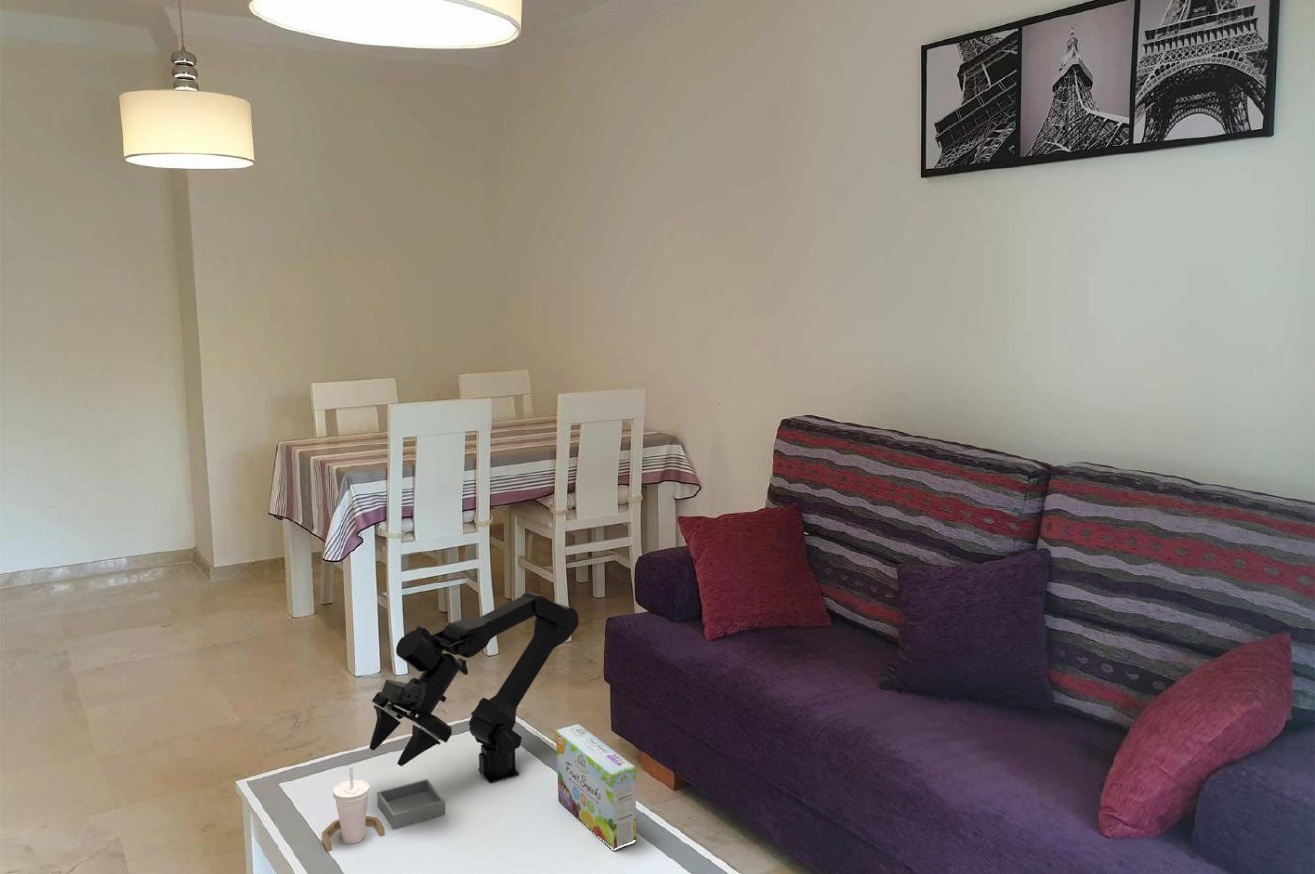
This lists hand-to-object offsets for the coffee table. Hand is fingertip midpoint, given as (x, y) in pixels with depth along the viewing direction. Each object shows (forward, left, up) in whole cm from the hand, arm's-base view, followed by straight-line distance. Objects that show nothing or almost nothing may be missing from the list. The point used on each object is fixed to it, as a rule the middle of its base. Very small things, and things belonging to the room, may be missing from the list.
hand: (385, 756), depth 186 cm
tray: (-5, -2, -13) cm, 14 cm away
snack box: (-33, +20, -13) cm, 41 cm away
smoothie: (+7, +2, -13) cm, 15 cm away
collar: (+7, 0, -13) cm, 15 cm away
